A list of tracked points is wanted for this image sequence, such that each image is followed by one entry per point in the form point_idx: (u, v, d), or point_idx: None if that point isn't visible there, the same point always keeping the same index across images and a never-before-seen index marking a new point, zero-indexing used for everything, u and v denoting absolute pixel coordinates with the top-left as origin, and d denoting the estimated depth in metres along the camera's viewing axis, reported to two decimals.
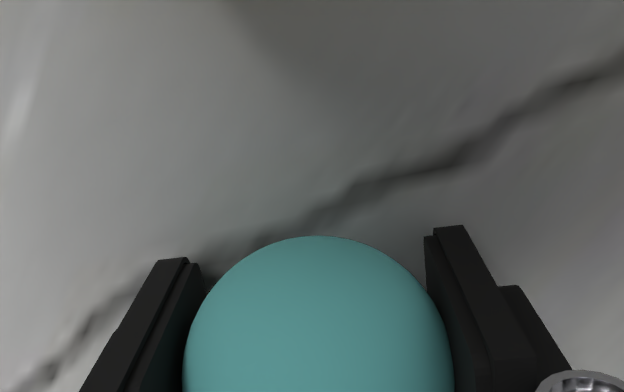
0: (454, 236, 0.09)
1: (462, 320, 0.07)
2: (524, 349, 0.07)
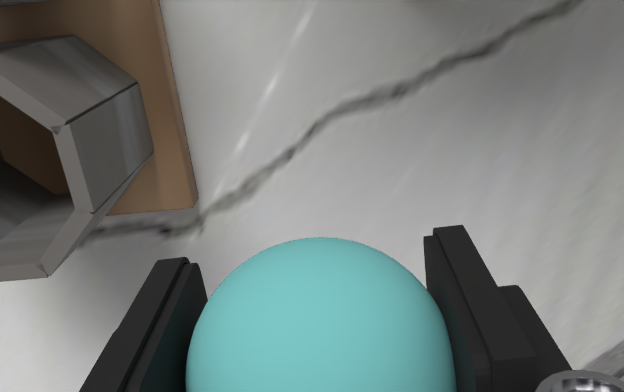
0: (454, 236, 0.09)
1: (462, 320, 0.07)
2: (524, 349, 0.07)
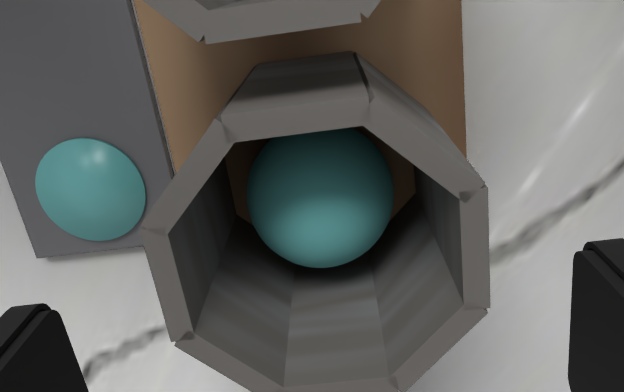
0: (622, 252, 0.08)
1: None
2: None
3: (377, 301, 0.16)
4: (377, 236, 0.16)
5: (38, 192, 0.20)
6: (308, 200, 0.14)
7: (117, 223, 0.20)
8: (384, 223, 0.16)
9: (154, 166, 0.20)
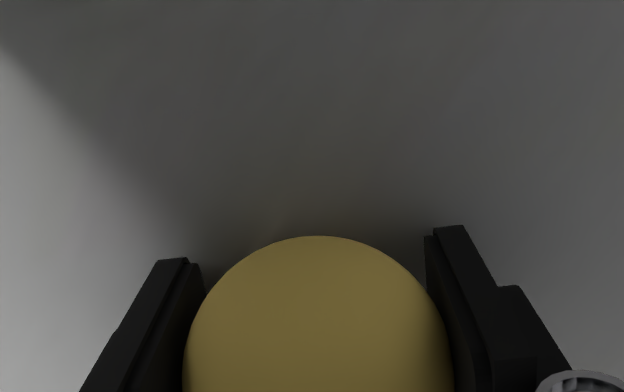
0: (454, 236, 0.09)
1: (462, 320, 0.07)
2: (524, 349, 0.07)
3: None
4: None
5: None
6: None
7: None
8: None
9: None
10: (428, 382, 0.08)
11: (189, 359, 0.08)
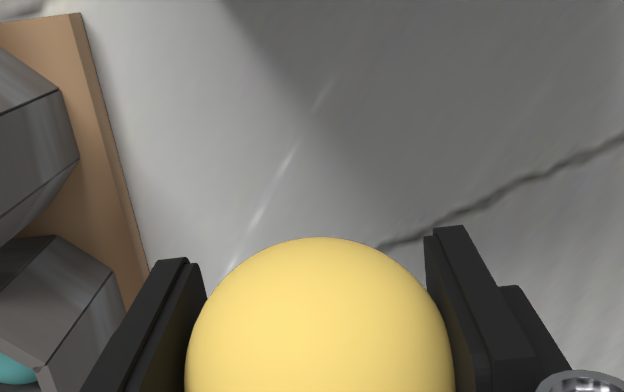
0: (454, 236, 0.09)
1: (462, 320, 0.07)
2: (524, 349, 0.07)
3: None
4: None
5: None
6: None
7: None
8: None
9: None
10: (430, 385, 0.08)
11: (192, 361, 0.08)
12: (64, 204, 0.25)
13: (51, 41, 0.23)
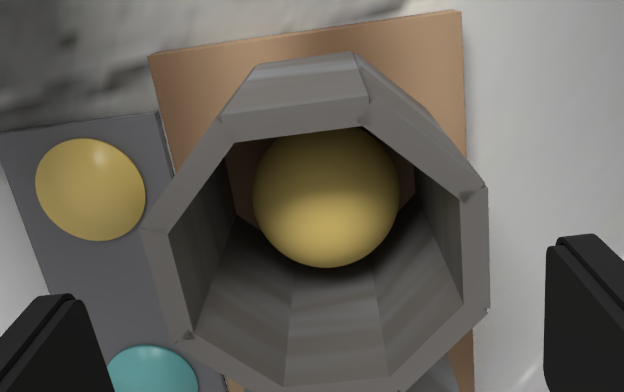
0: (591, 247, 0.09)
1: None
2: None
3: None
4: None
5: None
6: None
7: None
8: None
9: (206, 366, 0.23)
10: (386, 179, 0.15)
11: (261, 179, 0.15)
12: None
13: (430, 48, 0.17)
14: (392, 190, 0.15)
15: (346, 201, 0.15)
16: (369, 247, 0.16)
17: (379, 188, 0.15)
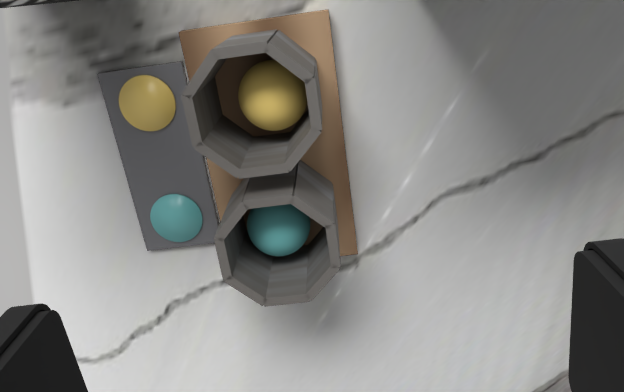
0: (623, 252, 0.08)
1: None
2: None
3: (307, 268, 0.38)
4: (299, 245, 0.38)
5: (151, 219, 0.42)
6: (267, 231, 0.36)
7: (188, 233, 0.42)
8: (302, 240, 0.38)
9: (207, 206, 0.42)
10: (302, 83, 0.34)
11: (246, 86, 0.34)
12: None
13: (315, 28, 0.36)
14: (305, 88, 0.34)
15: (288, 91, 0.33)
16: (298, 115, 0.34)
17: (300, 86, 0.34)
